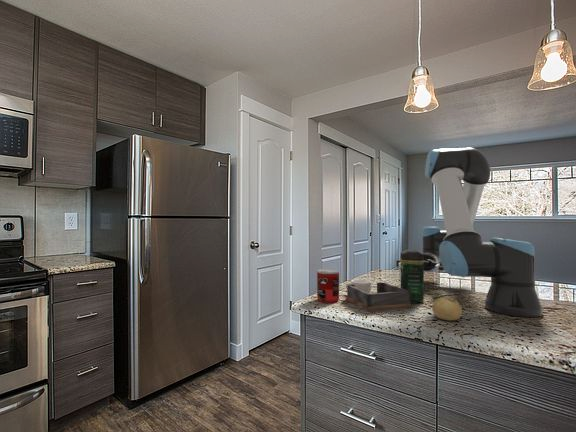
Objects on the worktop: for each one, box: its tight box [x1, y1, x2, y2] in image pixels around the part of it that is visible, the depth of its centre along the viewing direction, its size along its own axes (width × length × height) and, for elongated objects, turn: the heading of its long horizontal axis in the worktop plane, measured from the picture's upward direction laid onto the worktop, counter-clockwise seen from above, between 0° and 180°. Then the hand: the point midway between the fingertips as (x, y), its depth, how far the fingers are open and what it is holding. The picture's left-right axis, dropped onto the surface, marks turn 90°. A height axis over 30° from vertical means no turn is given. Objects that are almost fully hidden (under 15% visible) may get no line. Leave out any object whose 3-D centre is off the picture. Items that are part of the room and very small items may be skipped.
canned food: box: [316, 268, 340, 304], centre depth 113 cm, size 8×8×11 cm
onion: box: [431, 296, 463, 322], centre depth 92 cm, size 8×8×7 cm
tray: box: [345, 281, 412, 313], centre depth 108 cm, size 16×16×6 cm
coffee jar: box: [399, 248, 425, 304], centre depth 113 cm, size 10×8×19 cm
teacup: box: [345, 278, 372, 294], centre depth 121 cm, size 10×8×5 cm
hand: (417, 267), depth 121 cm, fingers open, 13 cm apart
